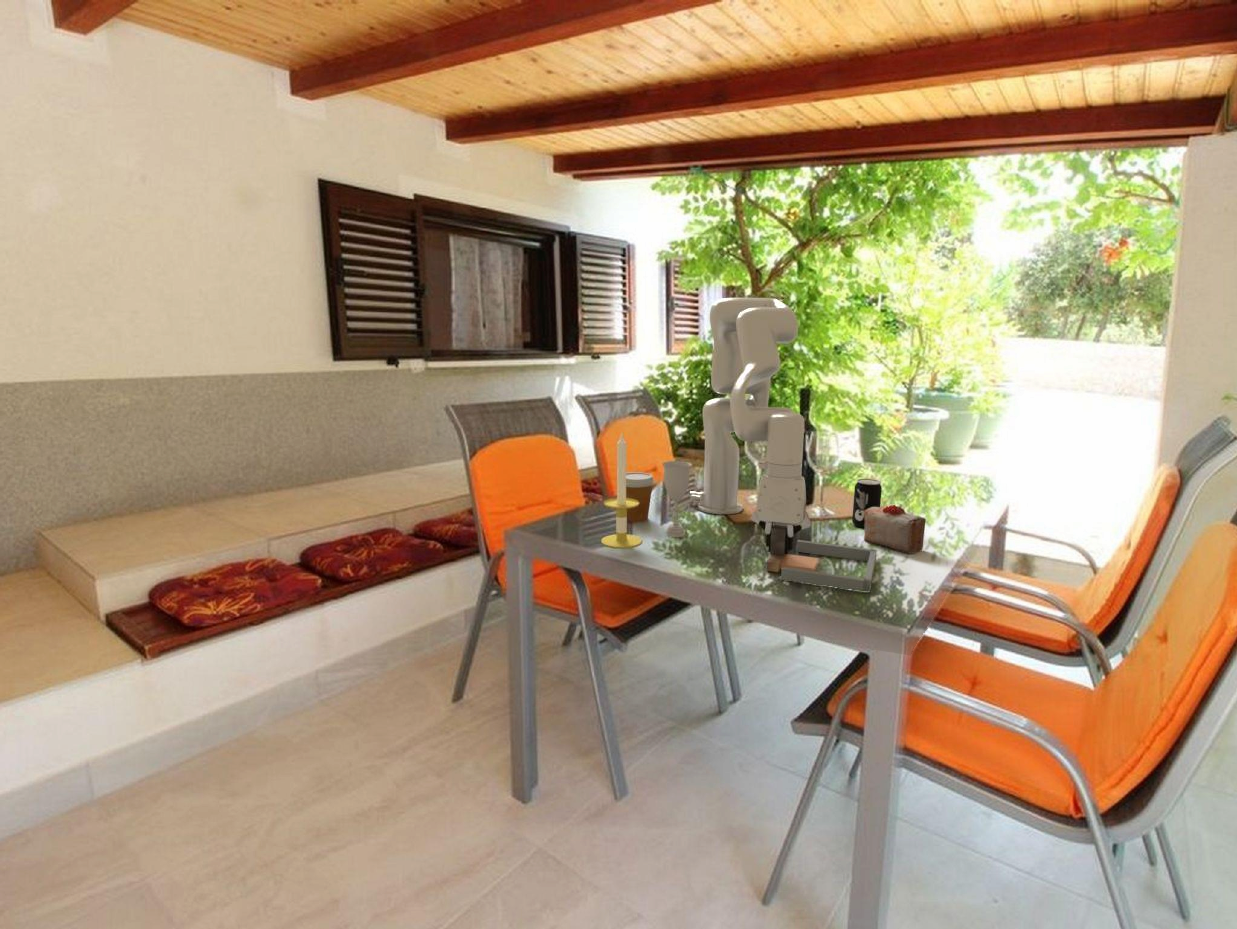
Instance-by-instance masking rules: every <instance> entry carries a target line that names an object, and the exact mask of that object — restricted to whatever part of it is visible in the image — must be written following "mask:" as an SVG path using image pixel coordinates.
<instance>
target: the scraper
mask: <svg viewBox="0 0 1237 929" xmlns="http://www.w3.org/2000/svg"><path fill="white" fill-rule="evenodd" d="M787 533H788V529H787V524H781V523H774V524H773V527H772V528H771V546H770V552H769V554H770V556H769V558H768V559H767V561H766V571H768V572H773V573H779V572H780V570H781V569H780V565H781V563H782V561H783V559H784V558H785V556H786V554H785V537H786V536H787Z"/></svg>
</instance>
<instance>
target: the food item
mask: <svg viewBox="0 0 1237 929" xmlns="http://www.w3.org/2000/svg"><path fill="white" fill-rule="evenodd" d="M864 518H865V525H864V527H865V528H864V534H863V536H864V537H863V541H864V542H868V543H870V544H871V543H872V544H875V545H878V546H883V547H885V548H889V549H894V550H896V551H899V552H903V553H907V554H910V555H912V554H916V553H918V552H922V551H923V549H924V539H925V532H926V531H925V530H926V529H925V528H926V522H927V521H926V520H927V519H926V518H924V517H923V516H919V515H915V514H911V513H907V512H906V511H905V510H904V508H902V504H900V505H898V506H897V505H896V504H893V505H888V506H886V507H881V506H880V507H871V508H868V509H867V510H865V511H864Z"/></svg>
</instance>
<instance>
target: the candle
mask: <svg viewBox="0 0 1237 929" xmlns="http://www.w3.org/2000/svg"><path fill="white" fill-rule="evenodd" d="M616 449H617V451H616V453H617V454H616V461H617V462H616V467H617V468H616V471H617V473H616V475H617V476H616V478H617V479H616V491H617V492H616V497H615V498H614V497H613V498H609V499H606V500H605V501H603V505H604V506H605V507H607V508H609V509H610V508H611V509H616V512H615V513H616V517H615V518H616V520H615V522H616V524H615V525H616V530H615V532H616V533H614V534H610V535H606V536H604V537H602V539H601V540H600V543H601V544H602V546H605V547H608V548H610V549H620V550H621V549H623V550H624V549H631V548H637V547H639V546H640V545H641V544H642V543H643V540H642V538H641V537H639V536H637V535H633V534H627V533H628V532H627V531H628V529H627V528H628V521H627V509H629V508H634V507H636V506H638V505H639V502H638V501H637V500H634V499H630V498H626V473H627V441H625V439H624V435H623V432H621V434H620V437H619V440H618V441H617V443H616Z"/></svg>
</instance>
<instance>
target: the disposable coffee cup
mask: <svg viewBox="0 0 1237 929" xmlns="http://www.w3.org/2000/svg"><path fill="white" fill-rule="evenodd" d="M654 483H655V480H654V477H653V474H651V473H647V472H640V471H639V472H638V471H637V472H634V471H633V472H626V498H630V499H634V500H637V501H638V502H639V505H638V506H636V507H634V508H629V509H627V522H631V523H643V522H644V523H645V522H647V520H648V519H649V512H650V506H651V498H652V491H653V485H654Z"/></svg>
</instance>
